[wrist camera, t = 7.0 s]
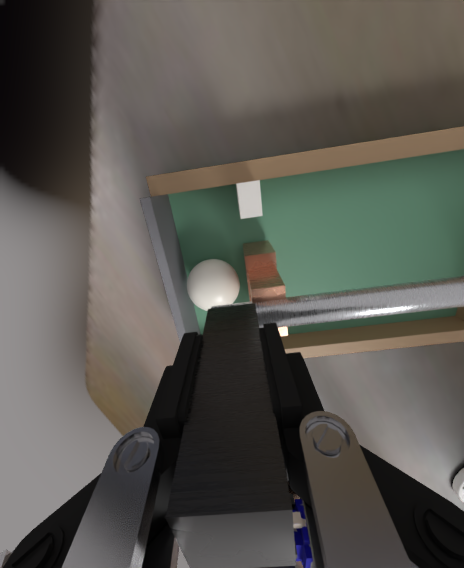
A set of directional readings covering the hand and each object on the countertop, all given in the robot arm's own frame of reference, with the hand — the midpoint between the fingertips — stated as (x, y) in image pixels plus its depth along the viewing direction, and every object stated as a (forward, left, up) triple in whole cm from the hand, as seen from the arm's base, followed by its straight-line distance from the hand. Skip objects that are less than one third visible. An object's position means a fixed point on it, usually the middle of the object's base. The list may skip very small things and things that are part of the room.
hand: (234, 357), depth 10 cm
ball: (+2, 0, -8) cm, 8 cm away
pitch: (-7, 0, -11) cm, 13 cm away
